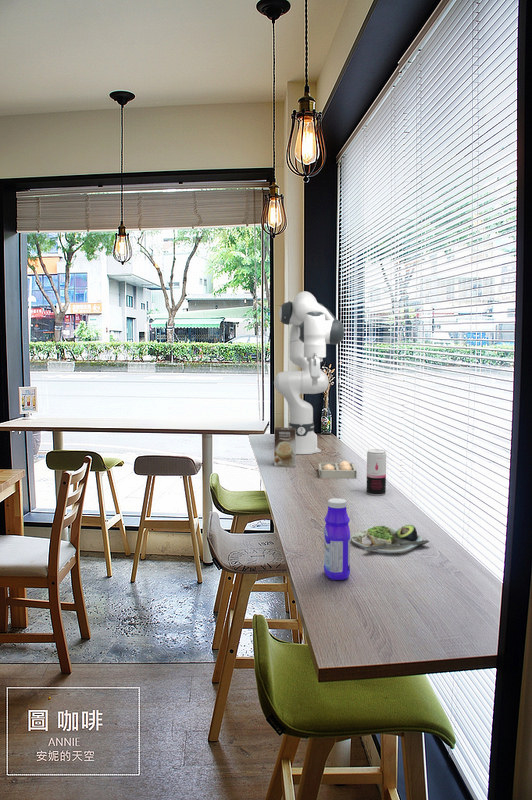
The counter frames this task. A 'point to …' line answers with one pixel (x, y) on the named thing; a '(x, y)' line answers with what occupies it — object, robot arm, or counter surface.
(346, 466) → the egg
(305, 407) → the robot arm
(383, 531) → the avocado toast plate
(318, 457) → the counter surface
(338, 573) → the bottle
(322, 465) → the carton
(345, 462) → the egg
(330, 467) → the egg
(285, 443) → the coffee box
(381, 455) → the beverage can
